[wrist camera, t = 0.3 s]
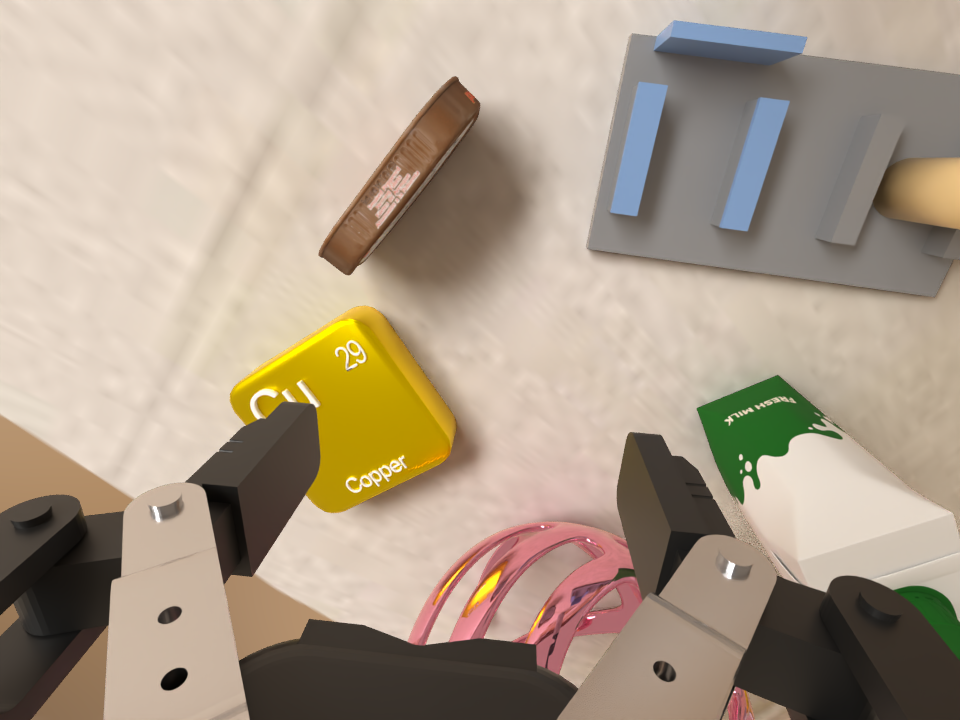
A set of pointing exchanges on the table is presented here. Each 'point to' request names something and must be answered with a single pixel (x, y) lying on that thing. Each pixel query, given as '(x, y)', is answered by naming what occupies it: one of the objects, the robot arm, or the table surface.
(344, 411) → the element tile
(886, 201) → the yellow bottle
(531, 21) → the table surface
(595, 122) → the table surface
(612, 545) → the spiral basket
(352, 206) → the tin
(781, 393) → the milk carton
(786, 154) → the slotted grey board
